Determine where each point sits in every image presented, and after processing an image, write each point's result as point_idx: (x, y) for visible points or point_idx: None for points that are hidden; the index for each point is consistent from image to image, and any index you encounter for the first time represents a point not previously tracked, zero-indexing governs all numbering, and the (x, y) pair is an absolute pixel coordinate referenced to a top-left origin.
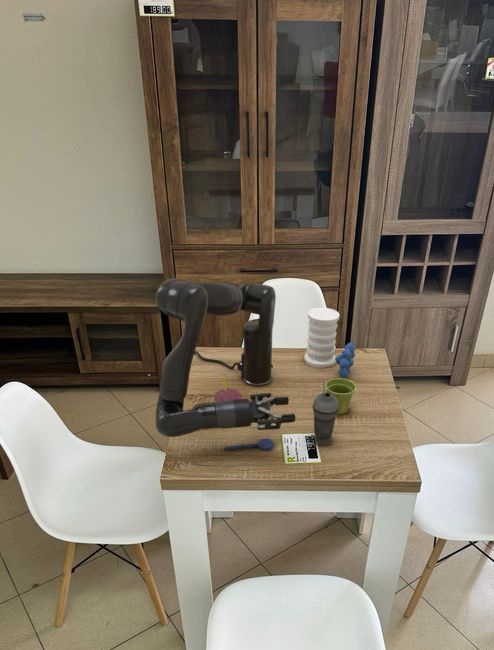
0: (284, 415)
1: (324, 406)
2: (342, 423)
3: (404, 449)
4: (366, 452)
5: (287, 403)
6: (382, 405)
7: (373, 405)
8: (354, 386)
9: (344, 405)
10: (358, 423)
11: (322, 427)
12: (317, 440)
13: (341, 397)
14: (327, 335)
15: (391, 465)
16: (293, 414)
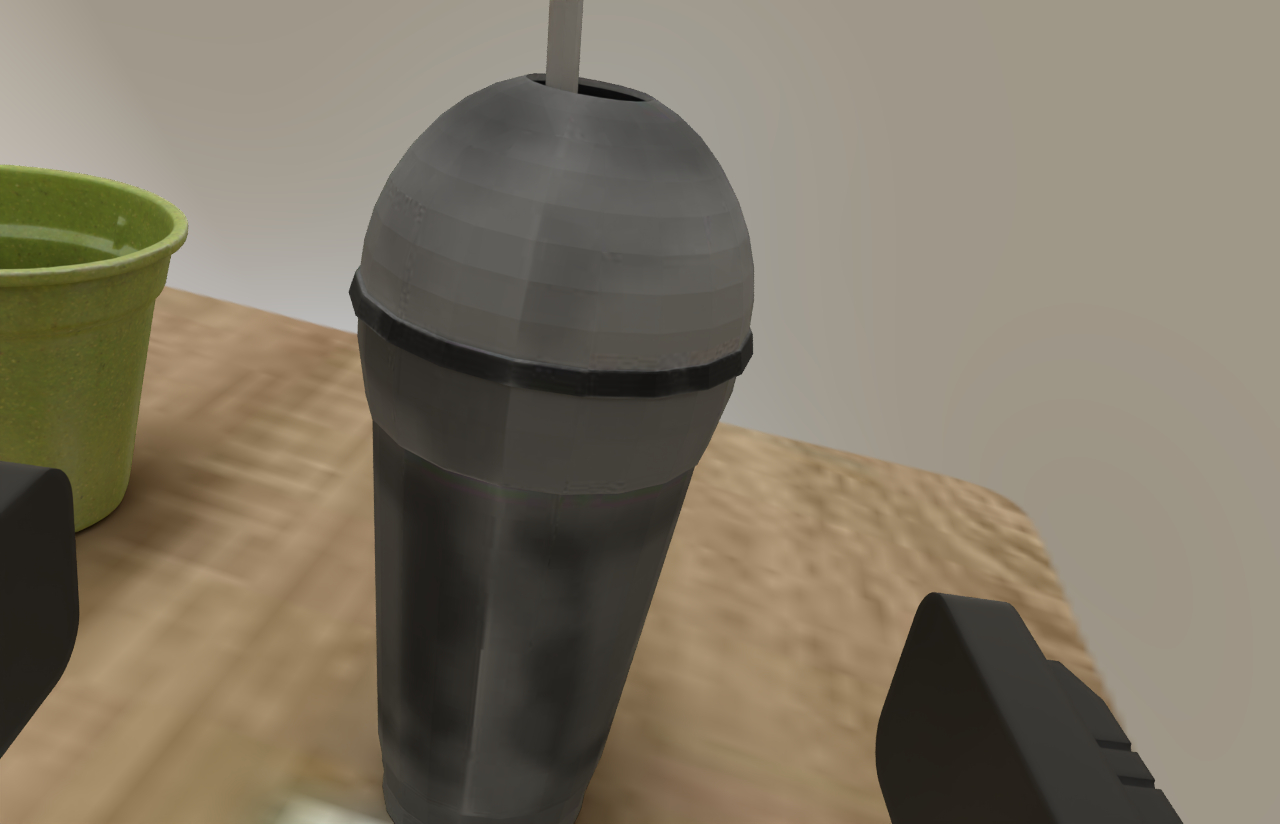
0: (1119, 820)
1: (737, 243)
2: (266, 548)
3: (724, 424)
4: (746, 567)
5: (63, 639)
6: (195, 326)
7: (157, 349)
8: (90, 187)
9: (139, 393)
10: (333, 474)
11: (648, 595)
12: (545, 819)
13: (140, 301)
14: None
15: (900, 519)
16: (983, 608)
